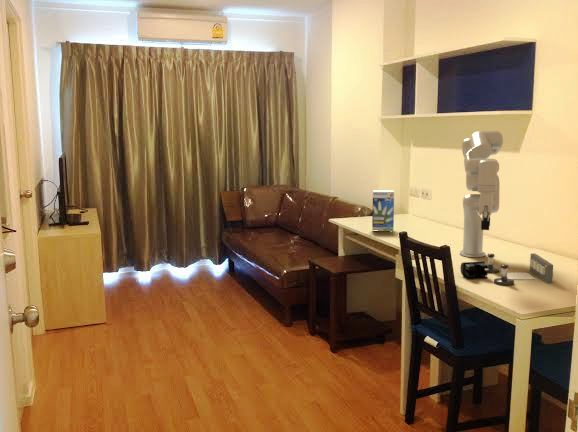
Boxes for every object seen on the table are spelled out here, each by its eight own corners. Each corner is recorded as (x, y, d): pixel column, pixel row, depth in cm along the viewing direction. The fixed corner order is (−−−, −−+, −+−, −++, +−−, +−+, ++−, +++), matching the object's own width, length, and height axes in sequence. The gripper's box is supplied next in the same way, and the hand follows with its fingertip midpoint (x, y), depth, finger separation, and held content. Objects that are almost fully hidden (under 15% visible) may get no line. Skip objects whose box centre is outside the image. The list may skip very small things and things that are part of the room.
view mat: (500, 273, 249) (500, 272, 249) (527, 273, 249) (527, 272, 248) (507, 279, 239) (507, 279, 239) (535, 279, 239) (535, 278, 239)
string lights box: (372, 231, 346) (372, 191, 342) (373, 229, 353) (373, 189, 349) (393, 232, 343) (393, 191, 338) (393, 230, 350) (394, 190, 346)
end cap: (480, 274, 249) (481, 259, 248) (488, 278, 242) (489, 263, 241) (459, 275, 248) (460, 261, 247) (466, 279, 241) (467, 265, 240)
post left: (479, 268, 258) (479, 252, 257) (496, 268, 258) (497, 252, 256) (484, 273, 250) (484, 256, 249) (502, 273, 250) (502, 256, 248)
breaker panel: (527, 270, 253) (528, 253, 252) (534, 270, 253) (535, 253, 252) (544, 283, 234) (545, 264, 232) (552, 283, 234) (553, 264, 232)
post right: (491, 280, 239) (492, 262, 238) (510, 280, 239) (511, 262, 238) (497, 286, 232) (498, 267, 230) (516, 286, 231) (517, 267, 230)
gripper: (478, 186, 245) (477, 224, 248) (476, 190, 229) (475, 231, 232) (496, 187, 243) (495, 225, 245) (495, 191, 227) (494, 231, 229)
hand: (485, 227), depth 239 cm, fingers open, 9 cm apart
